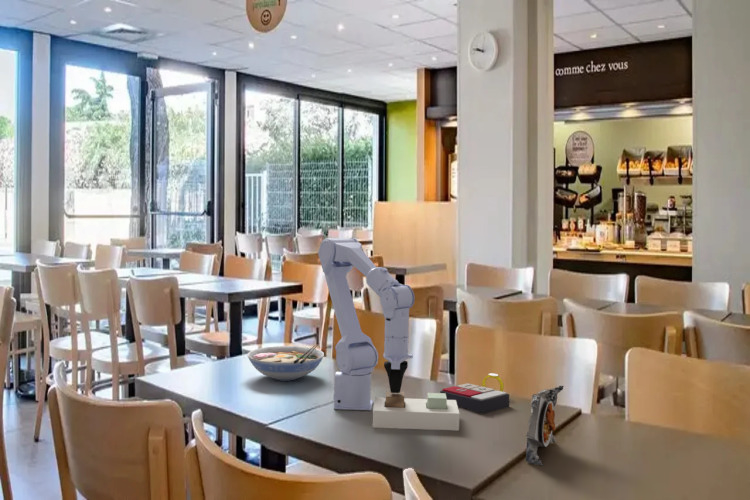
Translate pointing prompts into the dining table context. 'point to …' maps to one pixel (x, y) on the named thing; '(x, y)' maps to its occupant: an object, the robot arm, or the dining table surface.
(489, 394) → the calculator
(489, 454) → the dining table surface
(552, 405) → the meal
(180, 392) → the dining table surface
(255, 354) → the ramen bowl
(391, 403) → the walnut key
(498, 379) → the watch
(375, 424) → the key panel
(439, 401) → the sage key
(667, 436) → the dining table surface
